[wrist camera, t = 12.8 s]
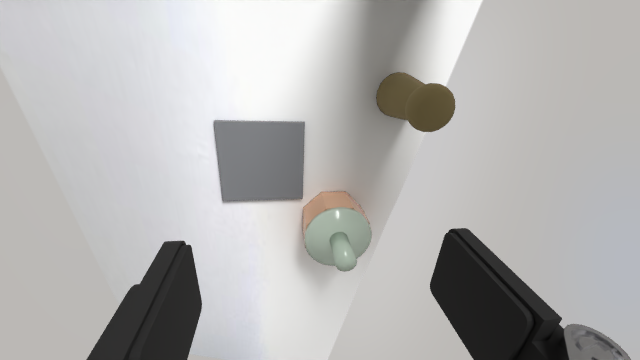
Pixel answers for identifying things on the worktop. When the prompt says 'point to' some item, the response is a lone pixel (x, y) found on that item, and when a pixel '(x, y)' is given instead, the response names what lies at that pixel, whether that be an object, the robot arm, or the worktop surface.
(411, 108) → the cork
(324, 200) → the bowl
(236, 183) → the mat
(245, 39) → the worktop surface
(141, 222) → the worktop surface
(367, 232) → the lid
